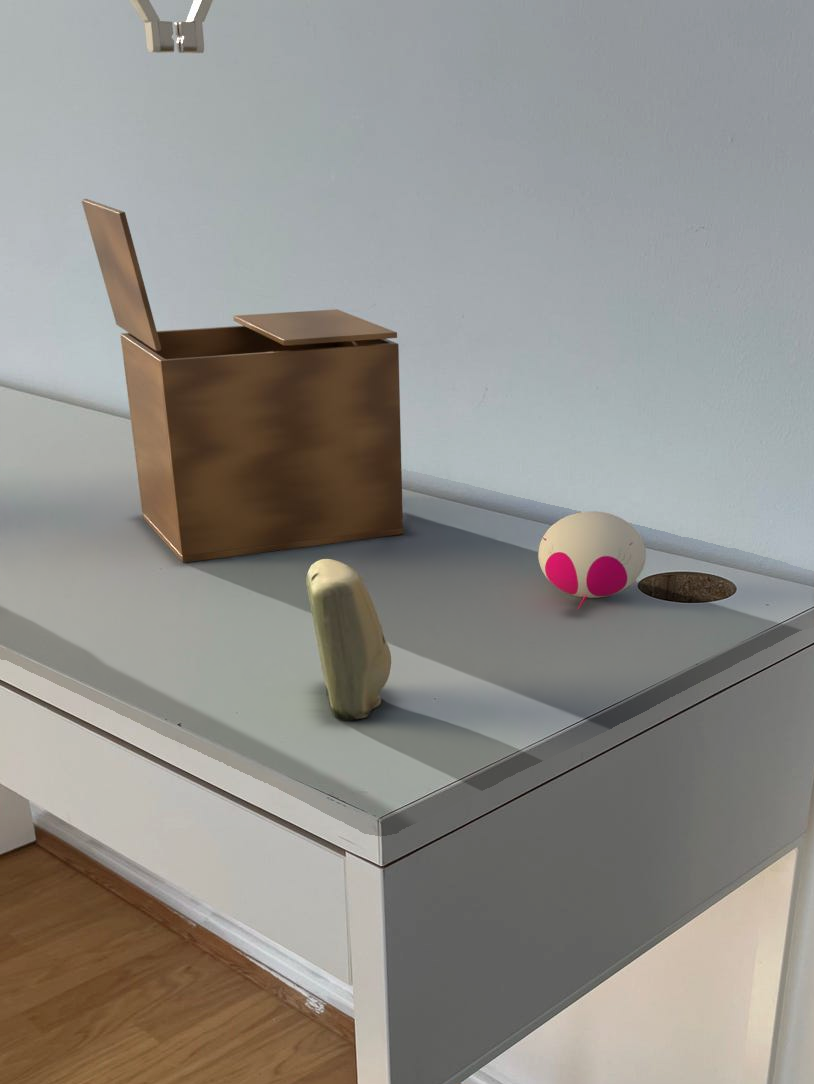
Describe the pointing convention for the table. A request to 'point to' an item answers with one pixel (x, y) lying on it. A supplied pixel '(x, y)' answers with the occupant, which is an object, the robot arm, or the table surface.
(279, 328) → the carton
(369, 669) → the beige rounded stone
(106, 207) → the flap
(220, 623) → the table surface
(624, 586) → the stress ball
